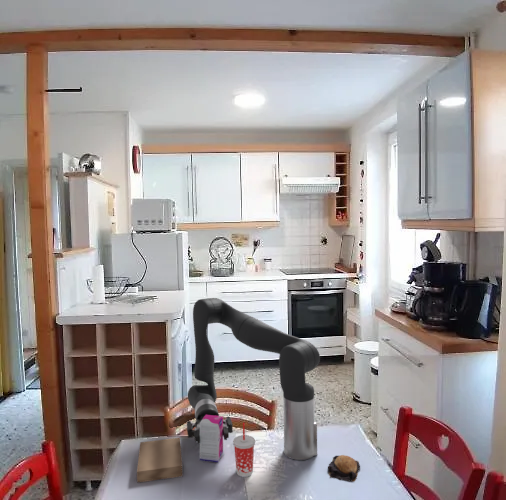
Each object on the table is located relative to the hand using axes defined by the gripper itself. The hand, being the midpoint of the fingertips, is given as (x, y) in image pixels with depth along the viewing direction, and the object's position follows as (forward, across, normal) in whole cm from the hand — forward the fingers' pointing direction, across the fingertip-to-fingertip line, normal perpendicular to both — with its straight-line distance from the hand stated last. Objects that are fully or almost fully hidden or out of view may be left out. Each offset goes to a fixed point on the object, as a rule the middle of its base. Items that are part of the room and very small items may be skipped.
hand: (212, 438), depth 122 cm
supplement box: (-2, 0, +7) cm, 7 cm away
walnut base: (-2, -15, +6) cm, 17 cm away
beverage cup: (+8, +8, +7) cm, 13 cm away
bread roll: (+13, +35, +7) cm, 38 cm away
